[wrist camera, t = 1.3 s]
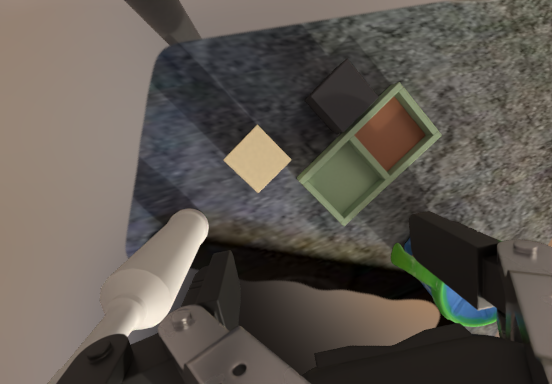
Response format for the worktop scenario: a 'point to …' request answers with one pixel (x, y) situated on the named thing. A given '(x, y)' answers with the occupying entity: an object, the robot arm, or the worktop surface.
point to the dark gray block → (341, 97)
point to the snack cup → (442, 291)
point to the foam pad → (257, 159)
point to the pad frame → (369, 154)
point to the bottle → (147, 280)
